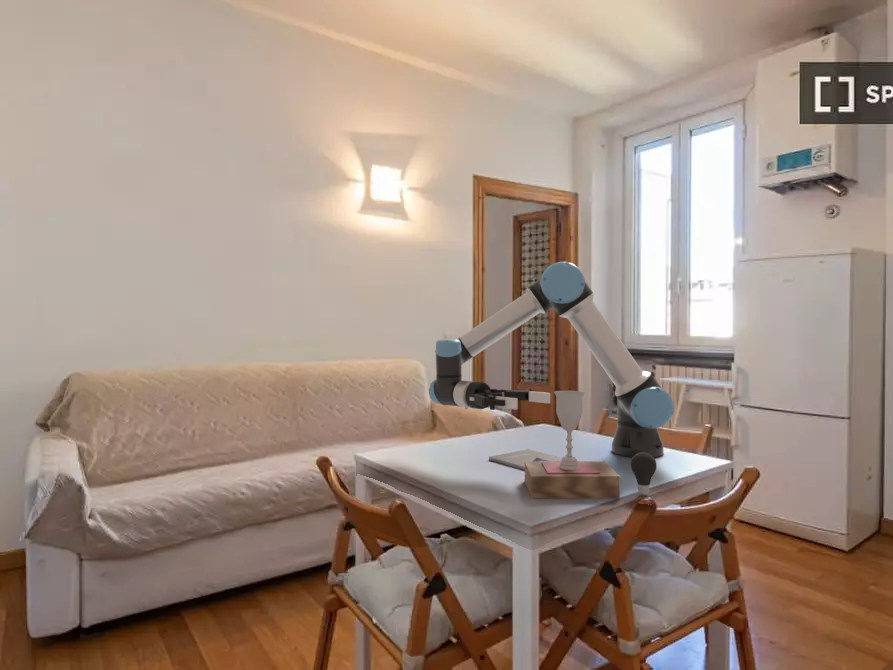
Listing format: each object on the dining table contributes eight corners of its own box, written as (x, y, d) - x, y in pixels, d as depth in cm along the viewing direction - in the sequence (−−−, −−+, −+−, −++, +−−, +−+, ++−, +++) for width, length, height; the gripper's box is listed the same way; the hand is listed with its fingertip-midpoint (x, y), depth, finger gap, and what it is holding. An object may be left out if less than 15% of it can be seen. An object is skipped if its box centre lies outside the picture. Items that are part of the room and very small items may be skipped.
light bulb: (638, 500, 126) (638, 455, 125) (626, 492, 131) (626, 450, 131) (661, 498, 126) (661, 454, 126) (648, 491, 132) (648, 449, 132)
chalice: (590, 466, 134) (590, 392, 134) (576, 472, 129) (575, 394, 129) (563, 462, 139) (562, 389, 139) (548, 467, 134) (548, 392, 134)
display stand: (604, 481, 141) (604, 460, 141) (619, 498, 127) (619, 475, 127) (524, 481, 142) (524, 460, 142) (531, 498, 128) (531, 474, 128)
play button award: (528, 449, 174) (579, 461, 158) (528, 454, 174) (579, 467, 158) (489, 456, 164) (539, 470, 148) (489, 461, 164) (539, 476, 148)
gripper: (502, 403, 167) (562, 409, 151) (441, 413, 150) (501, 422, 134) (501, 378, 167) (561, 382, 151) (440, 385, 149) (501, 390, 134)
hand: (533, 400), depth 143 cm, fingers open, 13 cm apart
